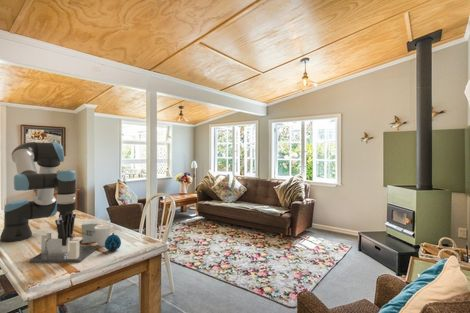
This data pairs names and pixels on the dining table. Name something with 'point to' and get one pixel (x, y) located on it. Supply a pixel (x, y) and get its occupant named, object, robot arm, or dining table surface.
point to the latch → (74, 248)
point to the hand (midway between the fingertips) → (65, 251)
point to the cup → (102, 233)
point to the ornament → (112, 242)
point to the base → (65, 258)
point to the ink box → (89, 231)
